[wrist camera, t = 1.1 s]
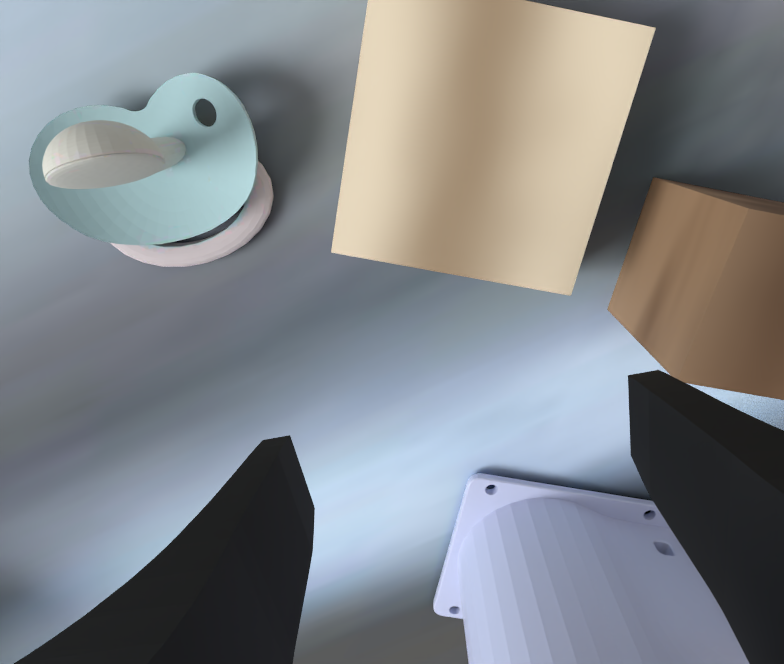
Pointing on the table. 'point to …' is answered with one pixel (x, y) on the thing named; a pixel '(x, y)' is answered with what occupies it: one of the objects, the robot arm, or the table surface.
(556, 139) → the maple block
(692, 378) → the walnut cube
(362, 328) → the table surface
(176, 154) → the pacifier
